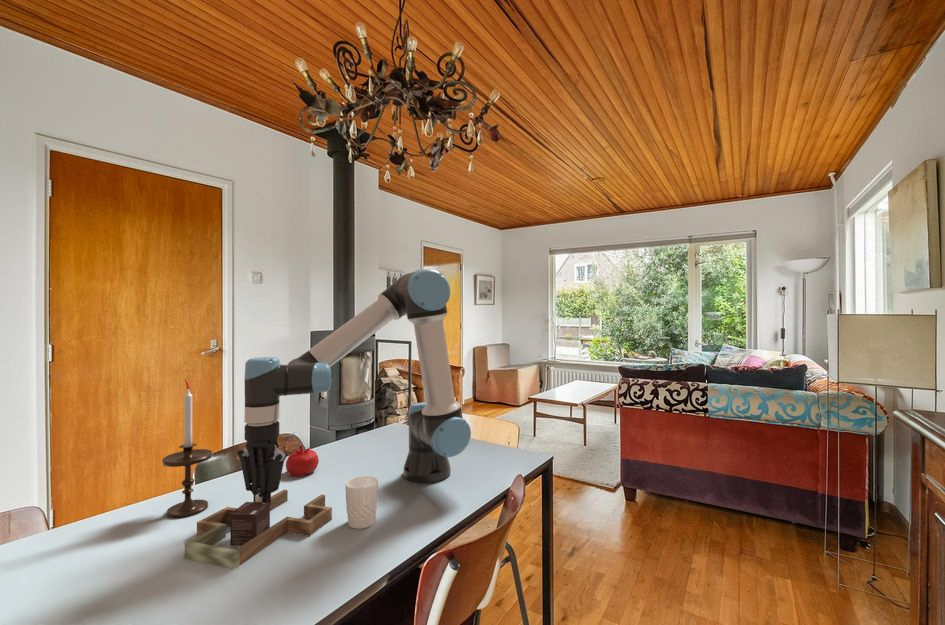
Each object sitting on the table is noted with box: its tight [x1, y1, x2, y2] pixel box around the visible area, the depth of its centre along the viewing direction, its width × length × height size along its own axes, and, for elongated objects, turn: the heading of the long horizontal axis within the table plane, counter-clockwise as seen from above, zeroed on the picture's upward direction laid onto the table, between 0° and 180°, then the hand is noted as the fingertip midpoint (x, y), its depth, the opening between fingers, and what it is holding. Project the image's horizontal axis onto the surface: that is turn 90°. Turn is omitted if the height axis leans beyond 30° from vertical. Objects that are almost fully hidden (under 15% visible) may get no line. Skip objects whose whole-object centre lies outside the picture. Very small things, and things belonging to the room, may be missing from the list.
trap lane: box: [183, 489, 333, 570], centre depth 100 cm, size 26×29×3 cm
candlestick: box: [162, 377, 213, 519], centre depth 111 cm, size 11×11×35 cm
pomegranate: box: [285, 444, 320, 477], centre depth 137 cm, size 10×10×9 cm
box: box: [229, 501, 271, 547], centre depth 96 cm, size 6×6×7 cm
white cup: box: [344, 475, 379, 530], centre depth 104 cm, size 8×8×10 cm
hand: (262, 520), depth 100 cm, fingers closed
